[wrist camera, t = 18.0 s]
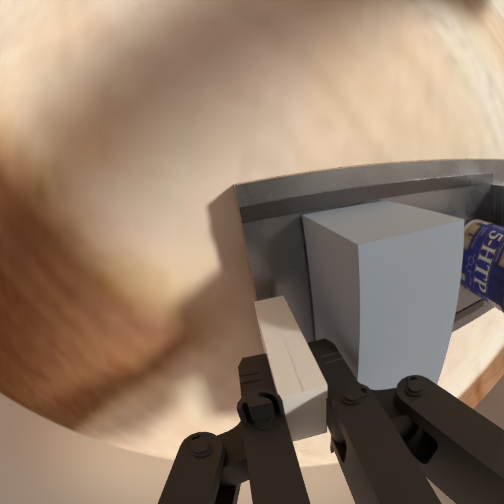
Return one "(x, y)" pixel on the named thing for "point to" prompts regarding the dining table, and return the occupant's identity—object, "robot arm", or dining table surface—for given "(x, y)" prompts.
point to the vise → (350, 194)
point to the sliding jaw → (385, 287)
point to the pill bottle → (484, 261)
